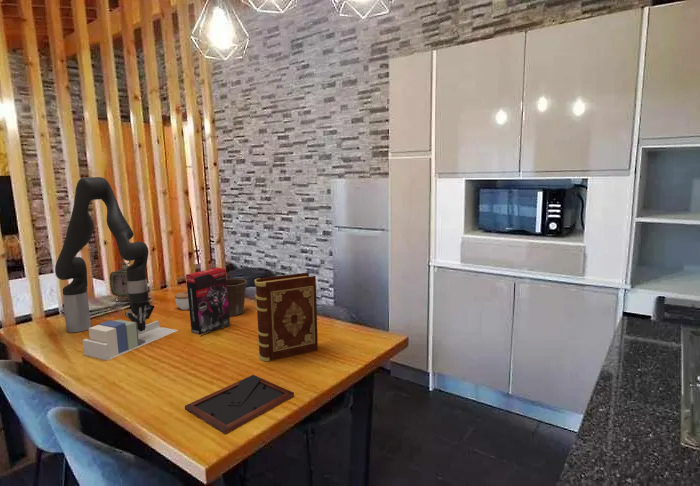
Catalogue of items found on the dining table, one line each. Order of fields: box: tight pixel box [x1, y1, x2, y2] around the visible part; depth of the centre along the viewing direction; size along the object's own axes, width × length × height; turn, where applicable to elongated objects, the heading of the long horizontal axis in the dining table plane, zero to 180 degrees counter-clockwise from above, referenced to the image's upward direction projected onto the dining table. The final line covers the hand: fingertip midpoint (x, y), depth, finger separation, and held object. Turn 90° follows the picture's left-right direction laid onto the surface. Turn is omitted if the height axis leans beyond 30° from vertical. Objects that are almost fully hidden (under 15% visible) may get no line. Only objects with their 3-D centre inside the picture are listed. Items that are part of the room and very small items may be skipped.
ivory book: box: [88, 324, 119, 358], centre depth 161 cm, size 10×4×10 cm, turn 65°
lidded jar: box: [174, 290, 189, 311], centre depth 223 cm, size 11×11×9 cm
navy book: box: [98, 319, 128, 353], centre depth 165 cm, size 9×4×11 cm, turn 65°
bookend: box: [136, 323, 145, 345], centre depth 172 cm, size 9×4×9 cm, turn 65°
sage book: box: [114, 318, 139, 350], centre depth 169 cm, size 10×4×10 cm, turn 65°
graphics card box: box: [185, 267, 231, 337], centre depth 187 cm, size 17×7×27 cm, turn 147°
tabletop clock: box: [109, 257, 131, 298], centre depth 238 cm, size 14×9×25 cm, turn 81°
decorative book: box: [254, 272, 319, 362], centre depth 161 cm, size 22×8×30 cm, turn 117°
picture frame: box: [184, 374, 295, 435], centre depth 127 cm, size 20×2×25 cm
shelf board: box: [82, 320, 179, 361], centre depth 174 cm, size 13×34×7 cm, turn 155°
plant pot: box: [226, 278, 248, 317], centre depth 213 cm, size 16×16×16 cm
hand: (141, 330), depth 176 cm, fingers closed
